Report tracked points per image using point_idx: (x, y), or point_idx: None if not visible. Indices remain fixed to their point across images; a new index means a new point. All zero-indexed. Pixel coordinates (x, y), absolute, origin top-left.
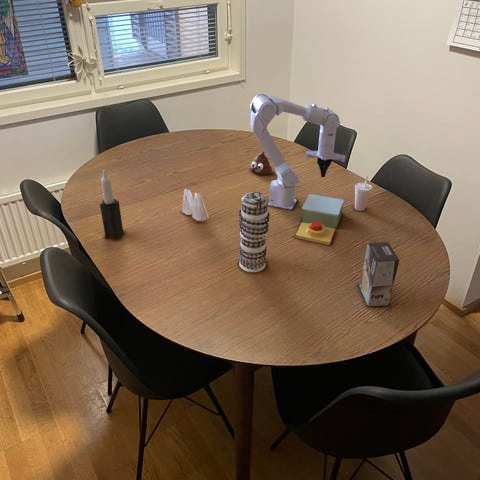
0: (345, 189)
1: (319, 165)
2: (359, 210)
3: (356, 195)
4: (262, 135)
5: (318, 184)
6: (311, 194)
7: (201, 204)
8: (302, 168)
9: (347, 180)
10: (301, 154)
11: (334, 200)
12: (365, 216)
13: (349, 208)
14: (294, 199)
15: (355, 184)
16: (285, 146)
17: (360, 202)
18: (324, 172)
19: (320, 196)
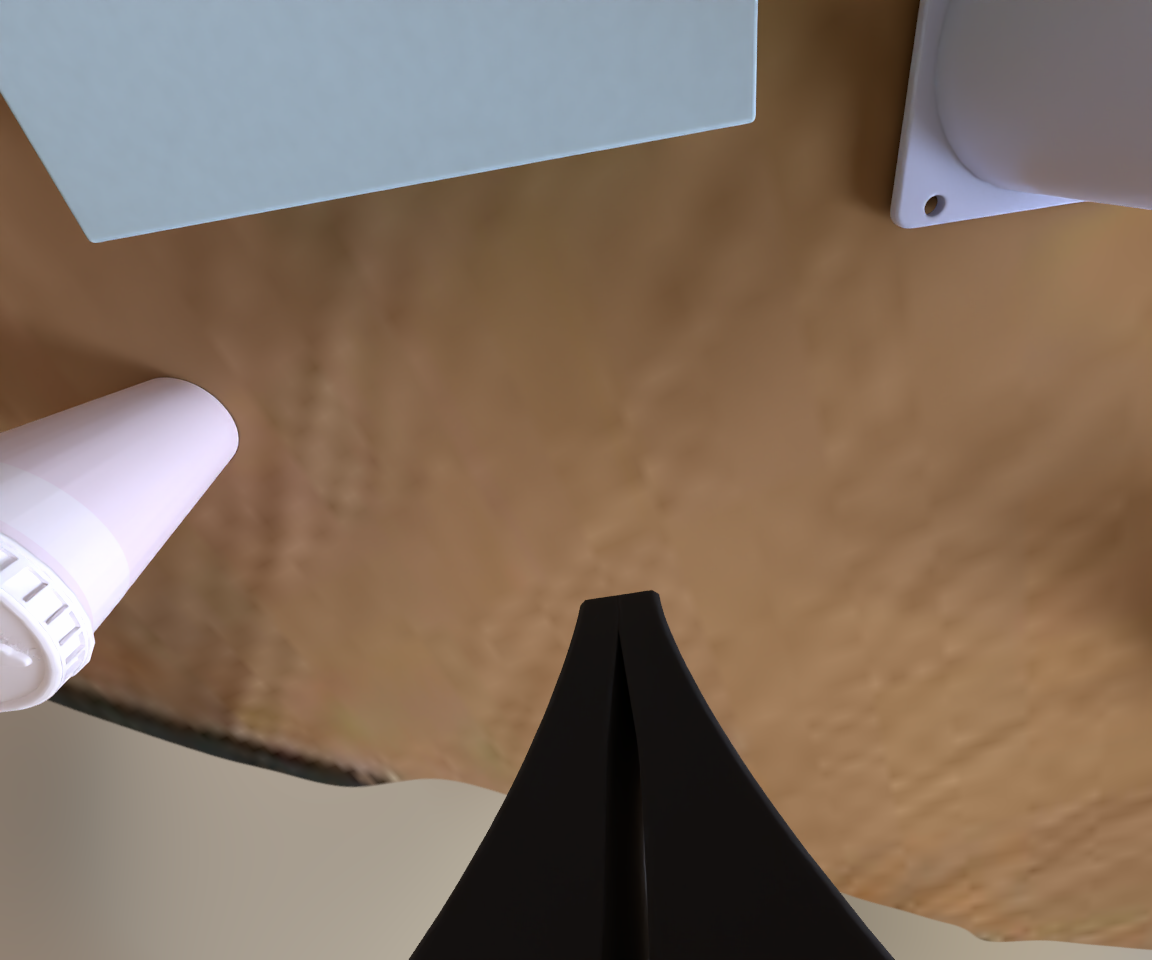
0: (480, 649)
1: (822, 937)
2: (150, 380)
3: (53, 466)
4: None
5: (716, 631)
6: (699, 104)
7: None
8: (898, 766)
9: (526, 746)
10: (926, 876)
11: (185, 112)
12: (24, 298)
13: (262, 376)
14: (928, 216)
15: (41, 627)
16: (1047, 909)
17: (51, 415)
18: (583, 694)
19: (498, 125)
